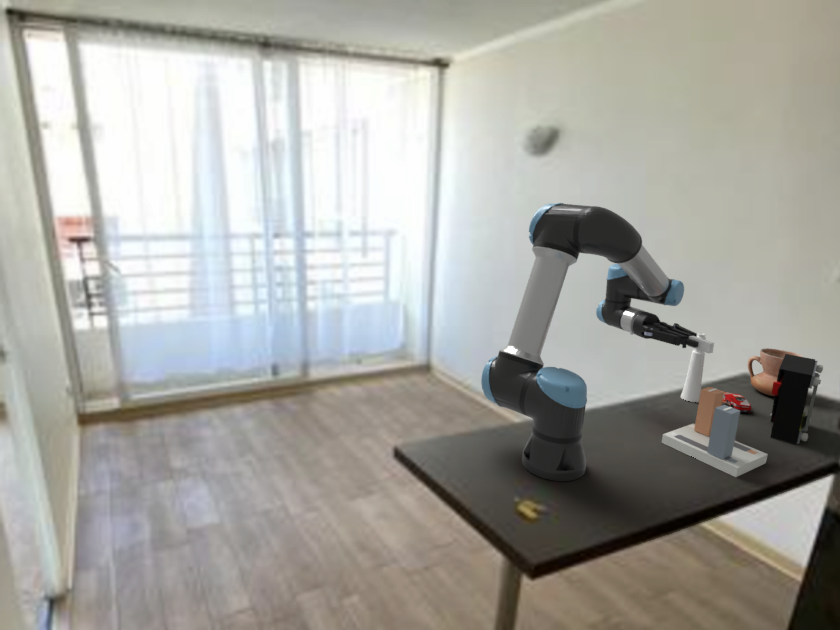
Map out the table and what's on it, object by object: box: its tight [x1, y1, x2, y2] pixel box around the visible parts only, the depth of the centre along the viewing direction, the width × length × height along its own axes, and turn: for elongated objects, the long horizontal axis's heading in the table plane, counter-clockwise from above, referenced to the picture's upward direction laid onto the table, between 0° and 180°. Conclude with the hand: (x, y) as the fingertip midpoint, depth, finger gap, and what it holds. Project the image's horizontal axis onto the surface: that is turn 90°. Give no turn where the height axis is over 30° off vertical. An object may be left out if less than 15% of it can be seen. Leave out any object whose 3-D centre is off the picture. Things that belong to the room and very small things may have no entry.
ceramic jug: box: [747, 347, 804, 397], centre depth 188 cm, size 18×14×14 cm
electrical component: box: [769, 354, 824, 445], centre depth 158 cm, size 18×10×20 cm, turn 143°
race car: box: [722, 391, 752, 414], centre depth 177 cm, size 13×5×4 cm, turn 177°
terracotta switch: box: [694, 386, 725, 436], centre depth 150 cm, size 4×4×12 cm
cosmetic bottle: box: [680, 332, 707, 403], centre depth 178 cm, size 6×6×22 cm
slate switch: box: [707, 404, 741, 459], centre depth 138 cm, size 4×4×12 cm
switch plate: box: [661, 422, 768, 478], centre depth 145 cm, size 20×14×3 cm
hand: (711, 348), depth 145 cm, fingers closed
